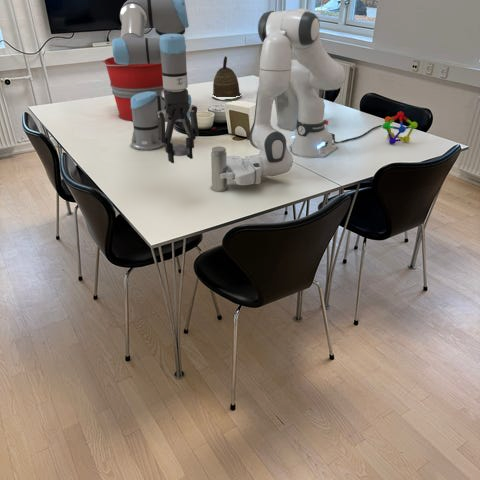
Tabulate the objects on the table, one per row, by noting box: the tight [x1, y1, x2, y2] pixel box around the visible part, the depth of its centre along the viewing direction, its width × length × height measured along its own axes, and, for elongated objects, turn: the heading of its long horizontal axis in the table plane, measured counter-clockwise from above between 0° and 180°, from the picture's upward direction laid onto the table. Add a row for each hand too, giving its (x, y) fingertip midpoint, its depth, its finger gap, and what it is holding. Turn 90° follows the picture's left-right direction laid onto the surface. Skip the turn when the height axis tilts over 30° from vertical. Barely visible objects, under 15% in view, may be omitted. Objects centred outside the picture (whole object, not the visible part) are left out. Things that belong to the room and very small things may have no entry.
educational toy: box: [382, 110, 418, 145], centre depth 207 cm, size 16×13×15 cm
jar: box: [210, 145, 228, 192], centre depth 163 cm, size 6×6×16 cm
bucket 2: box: [274, 83, 326, 131], centre depth 226 cm, size 30×30×28 cm
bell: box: [212, 56, 242, 97], centre depth 278 cm, size 19×26×20 cm
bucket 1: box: [100, 56, 164, 122], centre depth 241 cm, size 35×35×30 cm
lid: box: [173, 143, 190, 157], centre depth 147 cm, size 6×6×2 cm
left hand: (180, 159), depth 149 cm, fingers closed on lid, 6 cm apart
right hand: (216, 172), depth 164 cm, fingers closed on jar, 5 cm apart
